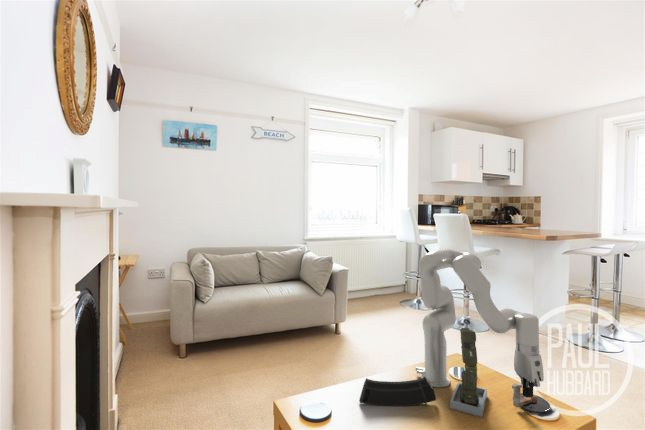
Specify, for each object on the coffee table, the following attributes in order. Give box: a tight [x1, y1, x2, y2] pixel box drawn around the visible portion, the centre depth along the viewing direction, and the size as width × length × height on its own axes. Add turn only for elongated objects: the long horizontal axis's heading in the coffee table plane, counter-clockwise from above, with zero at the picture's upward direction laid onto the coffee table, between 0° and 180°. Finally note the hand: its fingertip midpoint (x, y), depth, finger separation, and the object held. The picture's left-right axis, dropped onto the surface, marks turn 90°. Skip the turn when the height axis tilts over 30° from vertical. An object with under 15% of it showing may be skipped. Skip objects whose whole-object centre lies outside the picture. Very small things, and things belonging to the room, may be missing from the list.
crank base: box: [519, 392, 551, 415], centre depth 140 cm, size 12×12×2 cm
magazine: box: [358, 377, 437, 407], centre depth 141 cm, size 17×3×30 cm
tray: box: [449, 382, 488, 419], centre depth 142 cm, size 12×17×3 cm
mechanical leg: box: [459, 327, 479, 407], centre depth 142 cm, size 14×7×30 cm, turn 167°
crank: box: [511, 382, 538, 408], centre depth 138 cm, size 13×4×8 cm, turn 114°
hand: (527, 395), depth 131 cm, fingers closed
